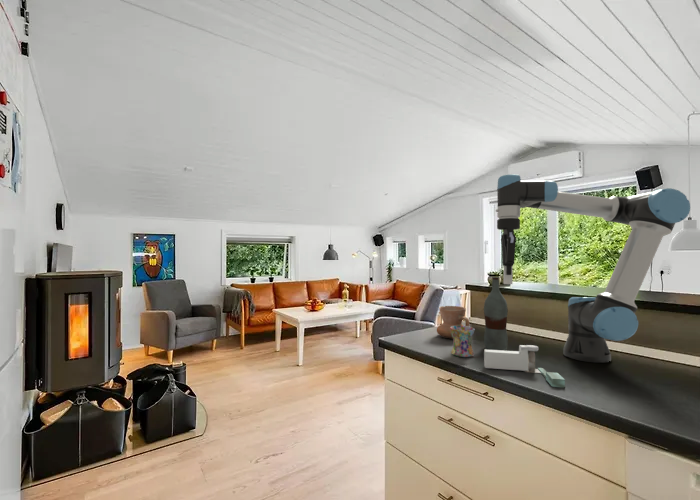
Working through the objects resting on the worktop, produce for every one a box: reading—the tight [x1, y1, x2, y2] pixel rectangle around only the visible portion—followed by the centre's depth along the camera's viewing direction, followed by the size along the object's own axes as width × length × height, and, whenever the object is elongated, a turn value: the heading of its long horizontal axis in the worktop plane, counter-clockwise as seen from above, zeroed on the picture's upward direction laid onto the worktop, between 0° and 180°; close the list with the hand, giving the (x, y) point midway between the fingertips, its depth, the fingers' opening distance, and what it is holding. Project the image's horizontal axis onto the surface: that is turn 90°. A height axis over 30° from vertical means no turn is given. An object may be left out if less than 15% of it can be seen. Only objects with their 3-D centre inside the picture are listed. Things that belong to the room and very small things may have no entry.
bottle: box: [483, 276, 509, 351], centre depth 146 cm, size 9×9×30 cm
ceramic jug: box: [436, 305, 470, 340], centre depth 166 cm, size 18×14×14 cm
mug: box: [450, 325, 476, 358], centre depth 138 cm, size 12×9×11 cm
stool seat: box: [524, 350, 566, 388], centre depth 119 cm, size 16×28×7 cm, turn 167°
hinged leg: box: [483, 344, 539, 372], centre depth 120 cm, size 17×4×8 cm, turn 77°
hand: (507, 283), depth 126 cm, fingers closed
